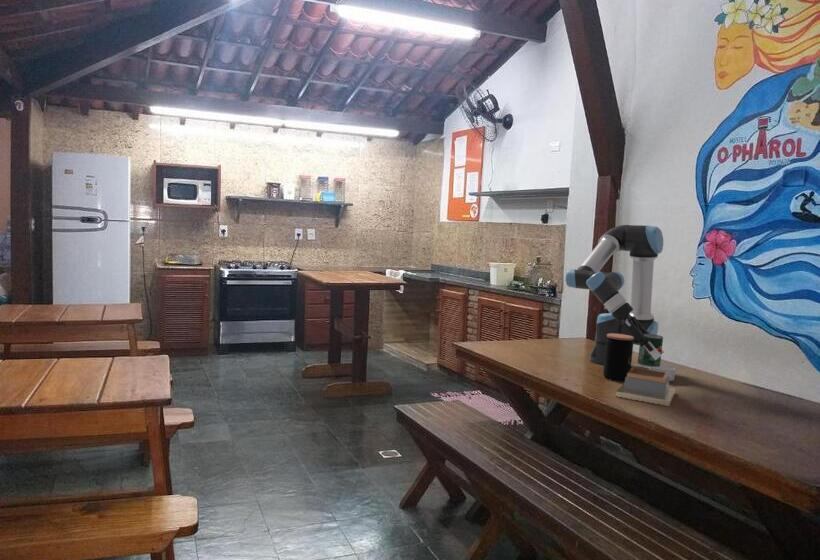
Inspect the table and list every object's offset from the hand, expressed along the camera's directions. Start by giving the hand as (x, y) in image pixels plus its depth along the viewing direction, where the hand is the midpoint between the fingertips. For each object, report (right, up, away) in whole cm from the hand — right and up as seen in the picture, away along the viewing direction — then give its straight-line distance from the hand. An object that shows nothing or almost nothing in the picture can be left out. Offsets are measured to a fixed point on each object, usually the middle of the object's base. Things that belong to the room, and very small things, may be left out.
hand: (659, 356), depth 222 cm
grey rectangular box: (-4, -15, +3) cm, 16 cm away
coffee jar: (-7, -13, +27) cm, 31 cm away
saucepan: (+9, -14, +31) cm, 35 cm away
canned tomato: (-3, -4, +2) cm, 5 cm away
